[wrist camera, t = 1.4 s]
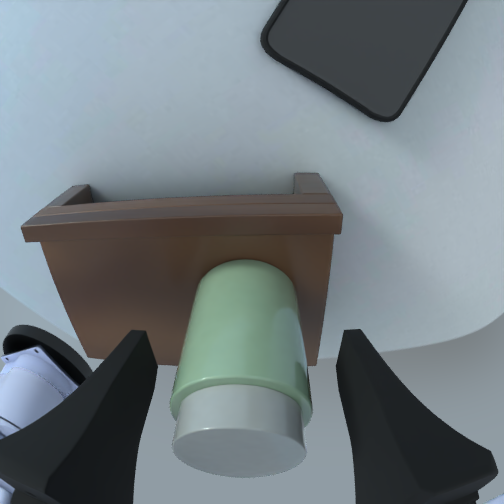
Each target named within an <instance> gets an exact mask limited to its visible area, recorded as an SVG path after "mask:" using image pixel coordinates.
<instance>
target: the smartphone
mask: <svg viewBox="0 0 504 504" xmlns="http://www.w3.org/2000/svg"><path fill="white" fill-rule="evenodd" d="M467 1H468V0H281V1H280V3H279V4H278V6H277V8H276V9H275V11H274V12H273V14H272V15H271V17H270V19H269V20H268V22H267V24H266V25H265V27H264V28H263V31H262V33H261V40H260V41H261V45H262V47H263V48H264V50H265V51H266V53H267V54H268V55H270V56H271V57H272V58H273V59H275V60H276V61H278V62H280V63H282V64H284V65H285V66H287V67H289V68H291V69H293V70H295V71H296V72H298V73H300V74H302V75H303V76H305V77H307V78H309V79H310V80H312V81H314V82H315V83H317V84H319V85H321V86H322V87H324V88H326V89H327V90H329V91H330V92H332V93H334V94H335V95H337V96H338V97H340V98H341V99H343V100H345V101H346V102H348V103H349V104H351V105H352V106H354V107H355V108H357V109H358V110H360V111H361V112H363V113H364V114H365V115H367V116H368V117H370V118H372V119H374V120H377V121H380V122H391V121H393V120H395V119H396V118H398V117H399V116H400V114H401V113H402V111H403V110H404V108H405V107H406V105H407V103H408V102H409V100H410V99H411V97H412V95H413V94H414V92H415V91H416V89H417V87H418V86H419V84H420V82H421V81H422V79H423V77H424V76H425V74H426V72H427V71H428V69H429V67H430V66H431V64H432V62H433V61H434V59H435V57H436V56H437V54H438V52H439V51H440V49H441V47H442V45H443V44H444V42H445V40H446V39H447V37H448V35H449V33H450V32H451V30H452V28H453V26H454V24H455V23H456V21H457V19H458V17H459V16H460V14H461V12H462V10H463V8H464V7H465V5H466V3H467Z"/></svg>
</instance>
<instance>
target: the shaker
mask: <svg viewBox="0 0 504 504" xmlns="http://www.w3.org/2000/svg"><path fill="white" fill-rule="evenodd" d="M170 411H171V414H172V416H173V418H174V419H175V421H176V426H175V431H174V437H173V442H172V449H173V452H174V454H175V455H176V456H177V457H178V459H180V460H181V461H182V462H184V463H186V464H187V465H189V466H191V467H193V468H195V469H198V470H201V471H204V472H207V473H211V474H215V475H220V476H228V477H240V478H250V477H263V476H270V475H274V474H278V473H282V472H285V471H288V470H290V469H292V468H294V467H296V466H297V465H299V464H300V463H301V462H302V461H303V460H304V459H305V457H306V453H307V448H306V437H305V427H306V426H307V425H308V423H309V422H310V419H311V417H312V414H313V408H312V400H311V391H310V384H309V376H308V368H307V361H306V353H305V346H304V339H303V332H302V325H301V318H300V312H299V305H298V299H297V293H296V290H295V287H294V285H293V283H292V281H291V280H290V279H289V277H288V276H287V275H286V274H285V273H283V272H282V271H281V270H279V269H278V268H276V267H275V266H273V265H270V264H268V263H265V262H262V261H258V260H251V259H239V260H233V261H228V262H225V263H222V264H220V265H218V266H216V267H214V268H213V269H211V270H210V271H209V272H208V273H207V274H206V275H205V276H204V277H203V278H202V279H201V281H200V282H199V285H198V287H197V290H196V294H195V298H194V302H193V306H192V310H191V314H190V318H189V322H188V326H187V330H186V334H185V338H184V342H183V347H182V351H181V355H180V359H179V364H178V368H177V372H176V377H175V381H174V386H173V390H172V395H171V399H170Z"/></svg>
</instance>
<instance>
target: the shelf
mask: <svg viewBox="0 0 504 504" xmlns="http://www.w3.org/2000/svg"><path fill="white" fill-rule="evenodd" d="M342 220H343V214H342V212H341V210H340V208H339V207H338V205H337V203H336V201H335V200H334V198H333V196H332V195H331V193H330V192H329V190H328V188H327V187H326V185H325V183H324V182H323V180H322V178H321V177H320V175H319V173H295V174H294V194H268V195H223V196H196V197H175V198H157V199H141V200H126V201H113V202H100V203H93V200H92V196H91V191H90V186H89V185H88V184H87V185H79V186H72V187H71V188H69V189H68V190H67V191H65V192H64V193H63V194H61V195H60V196H59V197H57V198H56V199H55V200H53V201H52V202H51V203H49V204H48V205H47V206H46V207H44V208H43V209H41V210H40V211H39V212H38V213H36V214H35V215H34V216H33V217H31V218H30V219H29V220H28V221H27V222H25V223H24V224H23V225H22V226H21V230H22V233H23V236H24V239H25V242H40V243H41V246H42V249H43V252H44V255H45V258H46V261H47V264H48V267H49V269H50V272H51V275H52V277H53V280H54V283H55V285H56V288H57V290H58V293H59V295H60V298H61V300H62V303H63V305H64V307H65V310H66V312H67V314H68V317H69V319H70V321H71V323H72V326H73V328H74V330H75V332H76V334H77V336H78V338H79V340H80V343H81V345H82V346H83V349H84V350H85V353H86V354H87V357H89V358H96V359H104V360H105V359H106V358H107V357H108V356H109V354H110V353H111V352H112V351H113V350H114V349H115V347H116V346H117V345H118V344H119V343H120V342H121V341H122V339H123V338H124V337H125V336H126V335H127V334H128V333H129V332H130V331H131V330H145V331H146V332H147V335H148V338H149V341H150V344H151V347H152V350H153V353H154V356H155V359H156V362H157V365H173V366H178V364H179V359H180V355H181V351H182V347H183V342H184V338H185V334H186V330H187V326H188V322H189V318H190V314H191V310H192V306H193V302H194V298H195V294H196V290H197V287H198V285H199V282H200V281H201V279H202V278H203V277H204V276H205V275H206V274H207V273H208V272H209V271H210V270H211V269H213V268H214V267H216V266H218V265H220V264H222V263H225V262H228V261H233V260H239V259H251V260H258V261H262V262H265V263H268V264H270V265H273V266H275V267H276V268H278V269H279V270H281V271H282V272H283V273H285V274H286V275H287V276H288V277H289V279H290V280H291V281H292V283H293V285H294V287H295V290H296V293H297V299H298V305H299V312H300V318H301V325H302V332H303V339H304V346H305V353H306V361H307V366H316V364H317V358H318V352H319V346H320V340H321V334H322V327H323V320H324V313H325V306H326V299H327V292H328V284H329V276H330V267H331V259H332V250H333V240H334V234H341V230H342Z"/></svg>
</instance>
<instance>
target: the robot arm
mask: <svg viewBox="0 0 504 504" xmlns="http://www.w3.org/2000/svg"><path fill="white" fill-rule="evenodd" d="M1 359H2V361H3V362H4V363H5V366H4V367H3V369H2V371H1V372H0V504H133V493H134V480H135V470H136V461H137V454H138V447H139V442H140V438H141V434H142V430H143V427H144V424H145V420H146V416H147V413H148V410H149V406H150V403H151V399H152V396H153V392H154V388H155V382H156V376H157V369H158V365H157V362H156V359H155V356H154V353H153V350H152V347H151V344H150V341H149V338H148V335H147V332H146V331H145V330H131V331H130V332H129V333H128V334H127V335H126V336H125V337H124V338H123V339H122V341H121V342H120V343H119V344H118V345H117V346H116V347H115V349H114V350H113V351H112V352H111V353H110V354H109V356H108V357H107V358H106V359H105V360H104V361H103V362H102V363H101V364H100V366H99V367H98V368H97V369H96V370H95V371H94V372H93V373H92V374H91V375H90V376H89V377H88V378H87V379H86V380H85V381H84V382H83V383H82V384H81V385H79V384H78V383H77V382H76V381H75V380H74V379H73V378H72V377H71V376H70V375H69V374H68V373H67V372H66V371H65V370H64V369H63V368H62V367H61V366H60V365H59V364H58V363H57V362H56V361H55V360H54V359H53V358H52V357H51V356H50V355H49V353H48V352H47V351H46V350H45V349H44V348H43V347H42V346H41V345H34V346H31V347H28V348H24V349H21V350H18V351H15V352H11V353H8V354H5V355H2V356H1ZM336 372H337V381H338V388H339V393H340V398H341V402H342V406H343V410H344V415H345V419H346V423H347V427H348V431H349V436H350V440H351V446H352V453H353V463H354V476H355V492H356V494H355V495H356V504H476V500H478V499H479V495H478V490H479V489H481V488H482V487H484V486H485V485H486V484H488V483H489V482H490V481H491V480H493V479H494V478H495V477H496V476H497V474H498V469H497V466H496V463H495V460H494V457H493V455H492V453H491V451H490V450H487V449H486V448H484V447H482V446H480V445H478V444H476V443H475V442H473V441H471V440H469V439H468V438H466V437H465V436H463V435H462V434H460V433H458V432H457V431H455V430H454V429H453V428H451V427H450V426H449V425H447V424H446V423H445V422H444V421H442V420H441V419H440V418H438V417H437V416H436V415H435V414H433V413H432V412H431V411H430V410H429V409H428V408H427V407H426V406H424V405H423V404H422V403H421V402H420V401H419V400H418V399H417V398H416V397H415V396H414V395H413V394H412V393H411V392H410V391H409V390H408V388H407V387H406V386H405V385H404V384H403V383H402V382H401V381H400V380H399V378H398V377H397V376H396V375H395V374H394V372H393V371H392V370H391V369H390V367H389V366H388V365H387V364H386V363H385V361H384V360H383V359H382V357H381V356H380V355H379V353H378V352H377V351H376V349H375V348H374V347H373V345H372V344H371V343H370V341H369V340H368V339H367V337H366V336H365V334H364V333H363V332H362V330H361V329H352V330H344V333H343V337H342V342H341V346H340V351H339V355H338V359H337V364H336ZM483 504H504V493H503V494H501V495H499V496H497V497H495V498H493V499H491V500H489V501H487V502H485V503H483Z"/></svg>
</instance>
